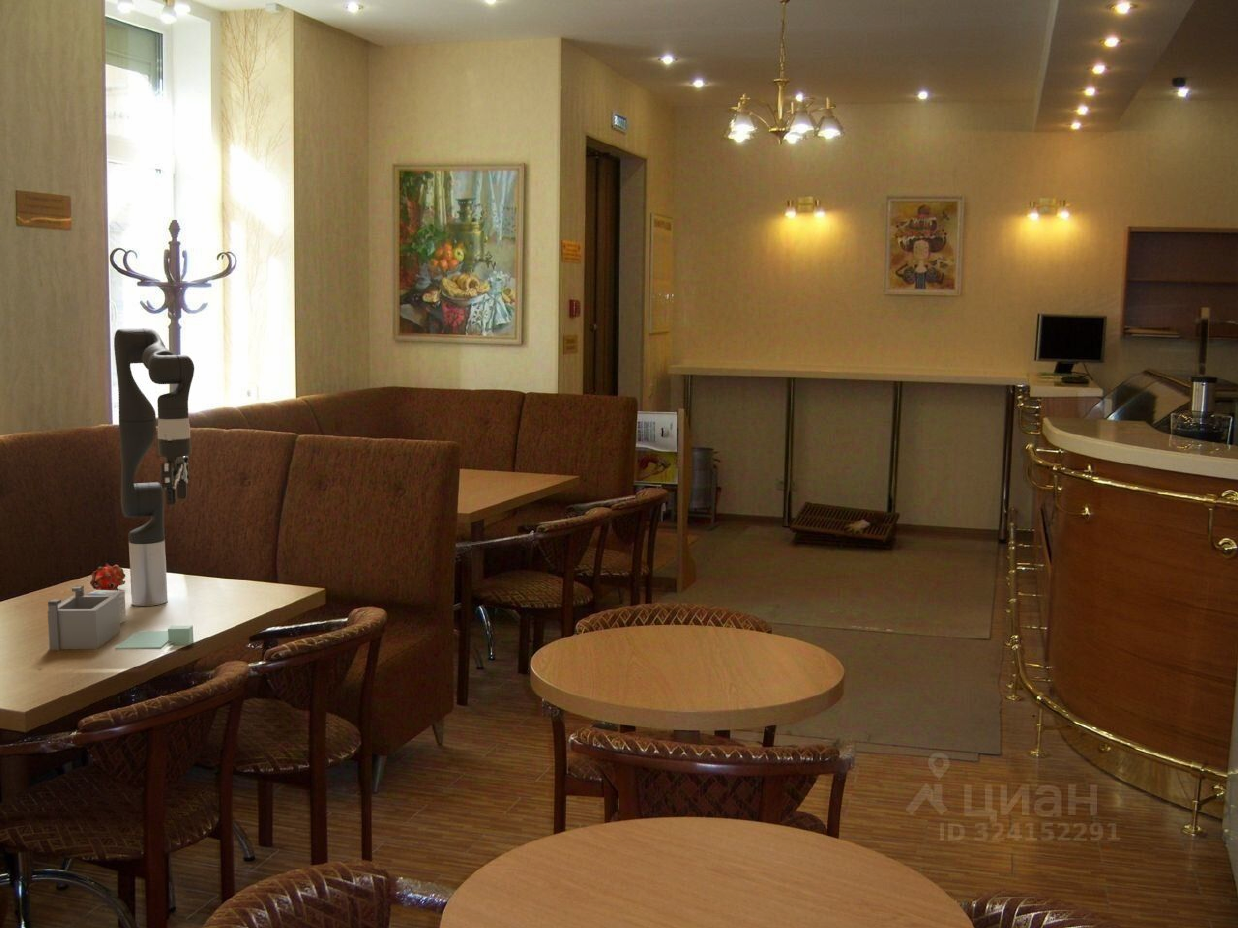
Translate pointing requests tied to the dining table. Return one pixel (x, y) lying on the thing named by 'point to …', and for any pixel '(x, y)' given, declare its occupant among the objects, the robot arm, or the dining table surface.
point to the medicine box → (121, 600)
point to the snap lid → (159, 638)
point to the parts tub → (83, 620)
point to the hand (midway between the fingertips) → (177, 501)
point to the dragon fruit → (107, 578)
